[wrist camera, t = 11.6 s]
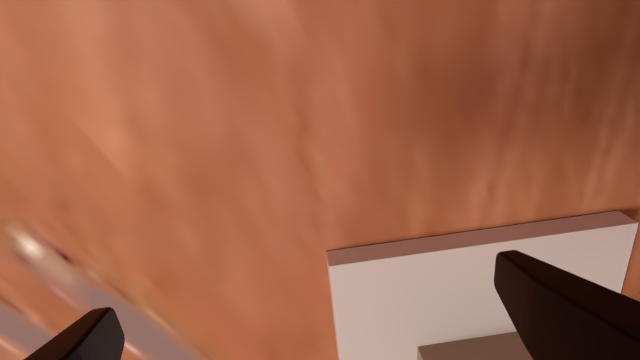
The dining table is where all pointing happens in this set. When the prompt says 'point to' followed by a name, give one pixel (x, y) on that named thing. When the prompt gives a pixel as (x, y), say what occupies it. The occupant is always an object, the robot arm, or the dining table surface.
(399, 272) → the build board
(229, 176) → the dining table surface
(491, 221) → the dining table surface
